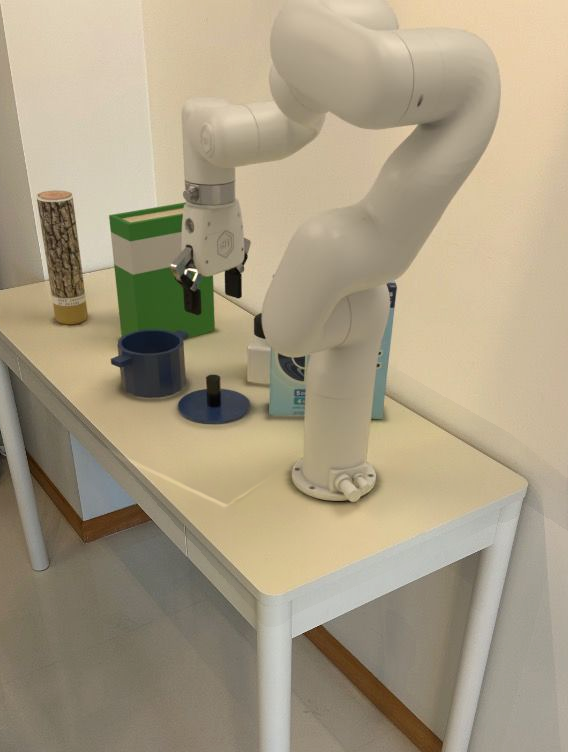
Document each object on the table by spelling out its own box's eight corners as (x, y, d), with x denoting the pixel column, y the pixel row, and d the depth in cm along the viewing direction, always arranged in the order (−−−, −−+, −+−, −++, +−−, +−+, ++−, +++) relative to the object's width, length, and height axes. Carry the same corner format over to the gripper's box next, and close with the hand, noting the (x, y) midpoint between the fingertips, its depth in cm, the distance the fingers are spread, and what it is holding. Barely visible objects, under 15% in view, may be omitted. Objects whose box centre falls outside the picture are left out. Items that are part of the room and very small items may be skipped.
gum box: (269, 418, 136) (270, 284, 123) (269, 404, 140) (271, 273, 127) (383, 420, 136) (397, 286, 123) (380, 406, 140) (394, 275, 127)
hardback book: (195, 320, 171) (190, 201, 157) (214, 331, 166) (211, 209, 152) (121, 338, 162) (108, 215, 148) (140, 351, 158) (128, 224, 143)
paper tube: (94, 318, 171) (79, 193, 156) (72, 328, 166) (54, 201, 152) (71, 311, 174) (54, 188, 159) (48, 321, 169) (28, 195, 155)
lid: (264, 407, 139) (265, 375, 136) (217, 434, 131) (216, 401, 128) (211, 387, 145) (210, 356, 142) (163, 412, 137) (160, 379, 134)
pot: (208, 379, 148) (207, 335, 143) (143, 412, 137) (138, 366, 132) (164, 362, 154) (161, 320, 148) (97, 393, 143) (92, 347, 138)
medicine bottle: (285, 388, 146) (286, 324, 138) (246, 384, 147) (246, 320, 139) (292, 371, 151) (294, 309, 144) (255, 368, 152) (255, 306, 145)
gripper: (188, 208, 112) (193, 325, 123) (266, 186, 123) (265, 295, 134) (150, 198, 116) (159, 313, 126) (229, 178, 127) (231, 285, 137)
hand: (213, 304), depth 130 cm, fingers open, 9 cm apart
